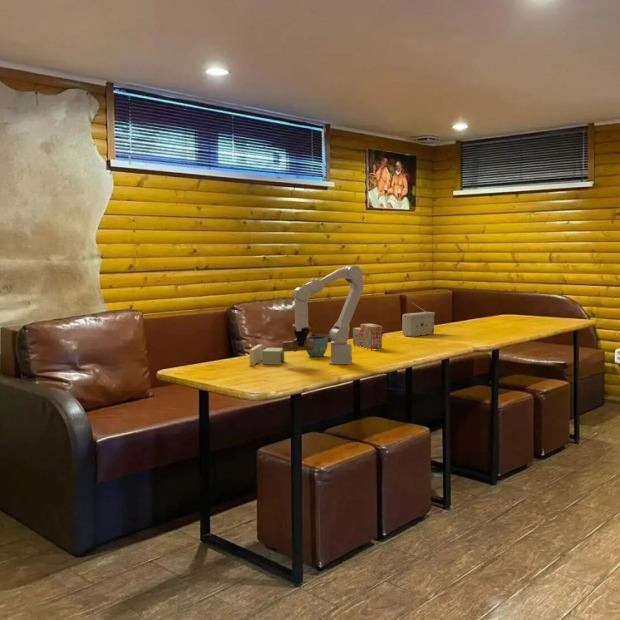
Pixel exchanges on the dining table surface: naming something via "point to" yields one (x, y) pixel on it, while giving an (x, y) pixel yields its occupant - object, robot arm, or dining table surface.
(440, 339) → the dining table surface
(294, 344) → the brown collared bar
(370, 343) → the stack of blocks
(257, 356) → the wall
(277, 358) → the block
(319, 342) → the flower pot
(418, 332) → the stereo radio cassette player
